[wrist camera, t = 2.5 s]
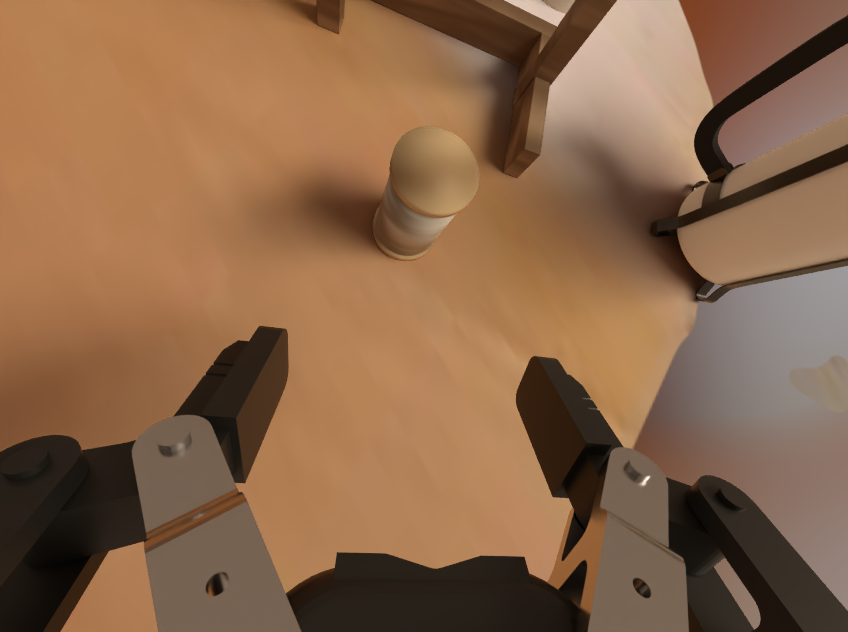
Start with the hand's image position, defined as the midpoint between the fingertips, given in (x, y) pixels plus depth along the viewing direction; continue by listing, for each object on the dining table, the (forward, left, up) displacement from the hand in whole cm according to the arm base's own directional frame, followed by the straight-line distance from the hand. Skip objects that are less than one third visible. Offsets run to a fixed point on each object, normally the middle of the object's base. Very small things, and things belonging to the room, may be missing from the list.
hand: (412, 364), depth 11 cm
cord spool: (-9, +9, -18) cm, 22 cm away
